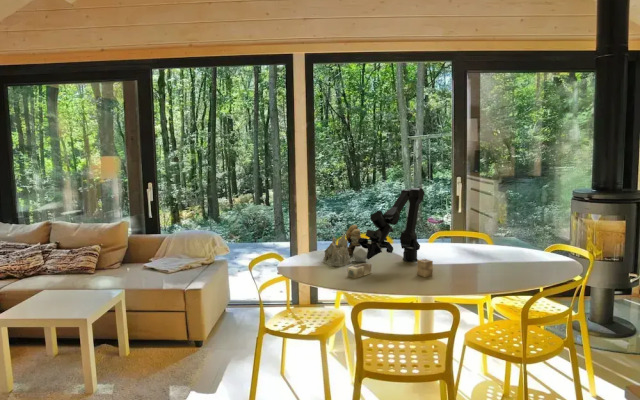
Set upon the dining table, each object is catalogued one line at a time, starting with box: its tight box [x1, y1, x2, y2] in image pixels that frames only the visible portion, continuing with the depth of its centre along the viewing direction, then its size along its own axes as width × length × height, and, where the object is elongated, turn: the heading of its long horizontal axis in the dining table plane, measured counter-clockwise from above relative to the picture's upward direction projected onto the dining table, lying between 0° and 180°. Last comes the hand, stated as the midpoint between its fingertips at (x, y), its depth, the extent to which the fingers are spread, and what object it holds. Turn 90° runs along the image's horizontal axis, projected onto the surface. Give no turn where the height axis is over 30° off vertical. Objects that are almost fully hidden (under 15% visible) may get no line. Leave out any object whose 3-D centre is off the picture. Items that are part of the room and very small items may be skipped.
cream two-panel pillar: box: [347, 262, 372, 279], centre depth 217 cm, size 5×4×12 cm
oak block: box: [416, 258, 434, 278], centre depth 215 cm, size 5×5×7 cm
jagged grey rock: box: [322, 234, 351, 267], centre depth 242 cm, size 16×16×15 cm
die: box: [352, 246, 368, 263], centre depth 244 cm, size 8×9×10 cm
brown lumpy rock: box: [345, 224, 362, 257], centre depth 262 cm, size 18×12×17 cm, turn 1°
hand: (367, 258), depth 220 cm, fingers closed
